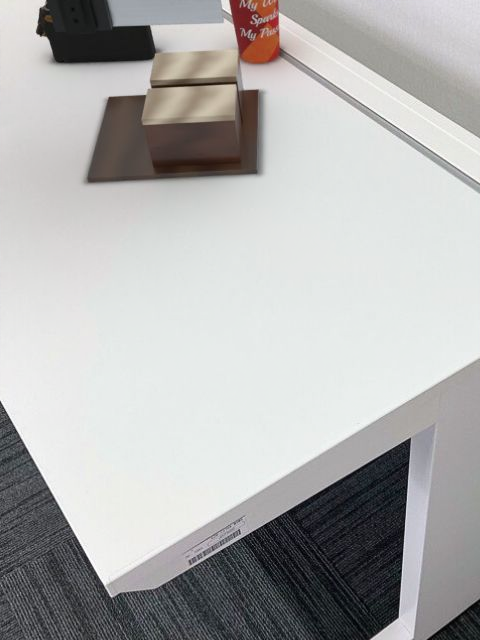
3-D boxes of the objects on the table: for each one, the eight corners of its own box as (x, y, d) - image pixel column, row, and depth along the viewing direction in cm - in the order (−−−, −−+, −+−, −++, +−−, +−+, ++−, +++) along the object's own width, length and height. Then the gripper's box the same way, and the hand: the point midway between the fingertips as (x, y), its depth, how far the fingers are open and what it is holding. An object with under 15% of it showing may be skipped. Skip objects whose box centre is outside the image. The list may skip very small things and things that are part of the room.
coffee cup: (250, 75, 112) (238, -31, 101) (222, 53, 117) (207, -51, 105) (298, 57, 115) (291, -47, 104) (269, 37, 120) (259, -66, 109)
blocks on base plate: (89, 184, 95) (71, 129, 89) (110, 102, 108) (95, 50, 102) (257, 175, 96) (250, 120, 90) (259, 95, 108) (253, 42, 103)
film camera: (155, 22, 124) (141, -42, 116) (170, 58, 116) (156, -9, 108) (42, 42, 120) (20, -23, 112) (49, 80, 112) (27, 13, 105)
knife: (55, 31, 82) (42, -10, 79) (59, 22, 84) (47, -19, 80) (223, 27, 83) (217, -15, 79) (224, 17, 84) (219, -24, 81)
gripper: (10, -197, 74) (65, -6, 88) (-38, -143, 64) (33, 64, 78) (88, -199, 74) (130, -8, 88) (52, -146, 64) (107, 62, 78)
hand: (84, 24), depth 83 cm, fingers closed on knife, 2 cm apart
